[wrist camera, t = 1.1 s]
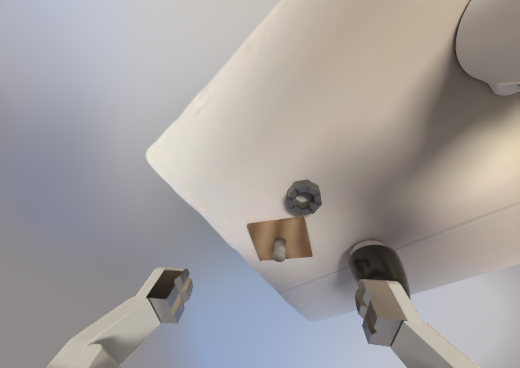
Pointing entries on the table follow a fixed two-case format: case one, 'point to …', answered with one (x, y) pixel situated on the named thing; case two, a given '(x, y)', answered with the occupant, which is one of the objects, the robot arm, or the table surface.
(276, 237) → the piston stand
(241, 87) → the table surface
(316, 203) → the ring
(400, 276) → the black rounded piece
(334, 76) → the table surface
